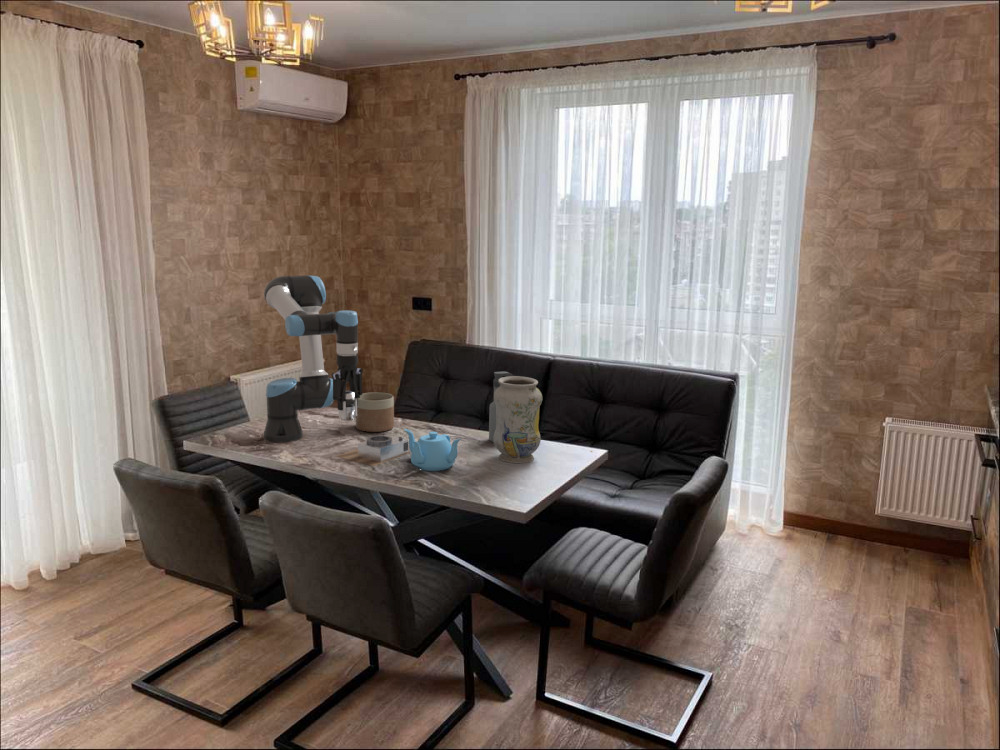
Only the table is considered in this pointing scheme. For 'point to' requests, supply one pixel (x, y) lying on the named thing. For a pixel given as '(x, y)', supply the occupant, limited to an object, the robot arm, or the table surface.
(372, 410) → the planter
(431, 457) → the teapot
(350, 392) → the lens
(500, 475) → the table surface
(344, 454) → the board
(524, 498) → the table surface
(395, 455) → the camera body
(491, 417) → the water bottle
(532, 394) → the vase
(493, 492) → the table surface
